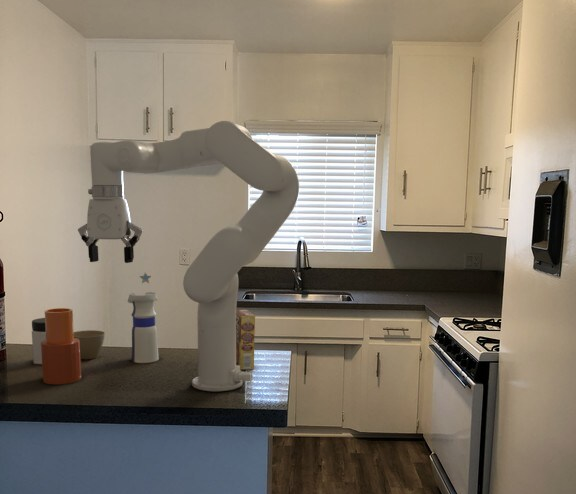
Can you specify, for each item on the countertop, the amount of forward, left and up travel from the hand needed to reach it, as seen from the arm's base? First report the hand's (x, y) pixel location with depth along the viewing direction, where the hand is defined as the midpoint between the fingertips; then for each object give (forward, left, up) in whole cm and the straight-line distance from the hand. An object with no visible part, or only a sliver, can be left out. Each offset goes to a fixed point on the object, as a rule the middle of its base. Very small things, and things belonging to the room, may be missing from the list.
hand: (111, 262), depth 159 cm
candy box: (-29, -19, -30) cm, 46 cm away
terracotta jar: (+12, +6, -30) cm, 33 cm away
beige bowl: (+18, -16, -30) cm, 39 cm away
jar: (+26, -9, -30) cm, 41 cm away
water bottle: (+1, -18, -30) cm, 35 cm away
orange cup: (+12, +6, -20) cm, 24 cm away
